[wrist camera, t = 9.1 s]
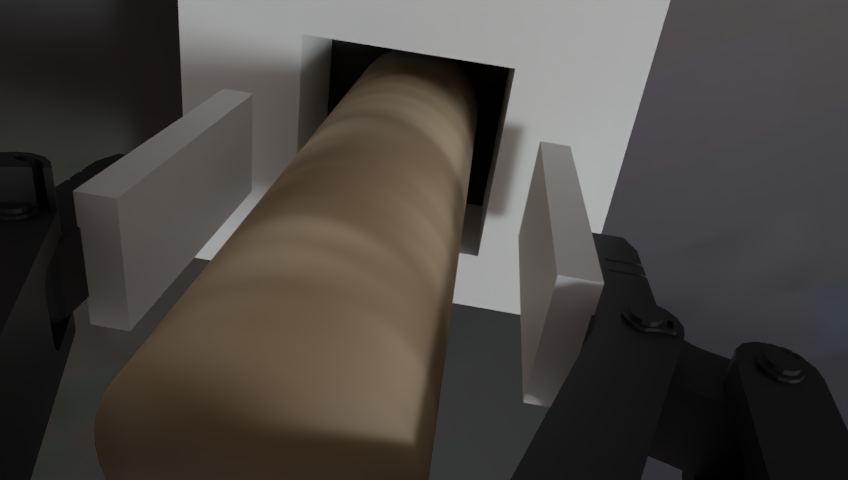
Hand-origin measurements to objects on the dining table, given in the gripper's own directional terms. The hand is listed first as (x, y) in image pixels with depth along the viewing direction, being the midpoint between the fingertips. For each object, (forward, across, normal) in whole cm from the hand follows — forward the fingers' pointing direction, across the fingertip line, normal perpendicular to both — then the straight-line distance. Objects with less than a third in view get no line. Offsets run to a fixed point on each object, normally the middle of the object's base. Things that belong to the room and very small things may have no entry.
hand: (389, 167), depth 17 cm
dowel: (+5, 0, 0) cm, 5 cm away
